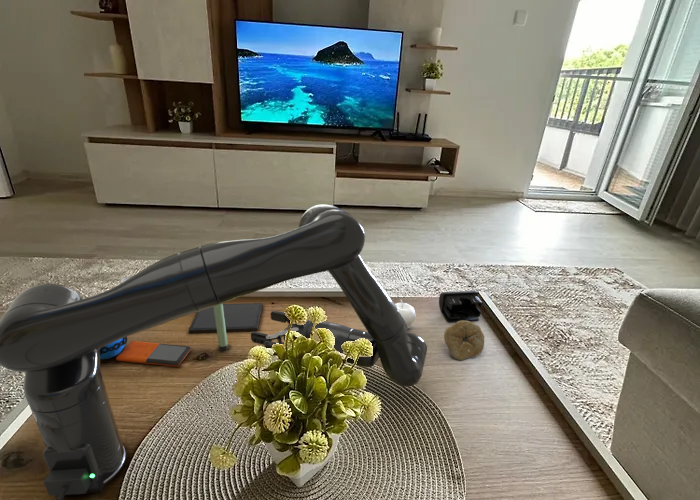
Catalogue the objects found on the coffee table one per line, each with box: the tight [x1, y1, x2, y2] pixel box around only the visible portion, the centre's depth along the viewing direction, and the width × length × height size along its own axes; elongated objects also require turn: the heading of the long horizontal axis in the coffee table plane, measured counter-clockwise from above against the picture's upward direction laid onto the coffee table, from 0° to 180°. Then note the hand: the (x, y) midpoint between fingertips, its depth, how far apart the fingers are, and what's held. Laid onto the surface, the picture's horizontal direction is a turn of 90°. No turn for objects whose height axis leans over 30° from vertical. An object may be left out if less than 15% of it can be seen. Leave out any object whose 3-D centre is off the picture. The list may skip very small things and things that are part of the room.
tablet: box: [188, 302, 263, 334], centre depth 106 cm, size 12×17×1 cm
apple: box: [394, 299, 417, 330], centre depth 104 cm, size 7×7×8 cm
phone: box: [115, 340, 192, 368], centre depth 92 cm, size 6×1×15 cm
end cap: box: [438, 290, 483, 324], centre depth 110 cm, size 10×7×7 cm
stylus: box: [214, 303, 229, 352], centre depth 93 cm, size 2×2×13 cm
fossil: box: [443, 321, 486, 361], centre depth 97 cm, size 9×4×10 cm
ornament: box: [99, 336, 128, 360], centre depth 90 cm, size 9×9×10 cm
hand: (261, 325), depth 88 cm, fingers open, 8 cm apart
